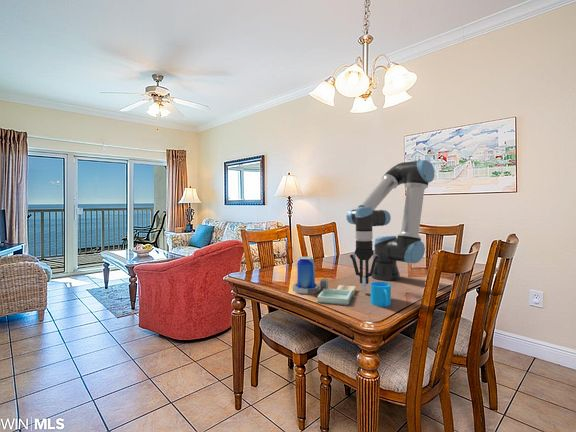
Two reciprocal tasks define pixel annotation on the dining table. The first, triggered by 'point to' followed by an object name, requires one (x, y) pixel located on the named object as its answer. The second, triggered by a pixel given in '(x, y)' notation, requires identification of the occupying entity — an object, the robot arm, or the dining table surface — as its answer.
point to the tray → (335, 296)
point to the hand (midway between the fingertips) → (364, 290)
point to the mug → (380, 294)
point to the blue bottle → (306, 272)
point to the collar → (306, 289)
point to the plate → (347, 288)
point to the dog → (323, 284)
